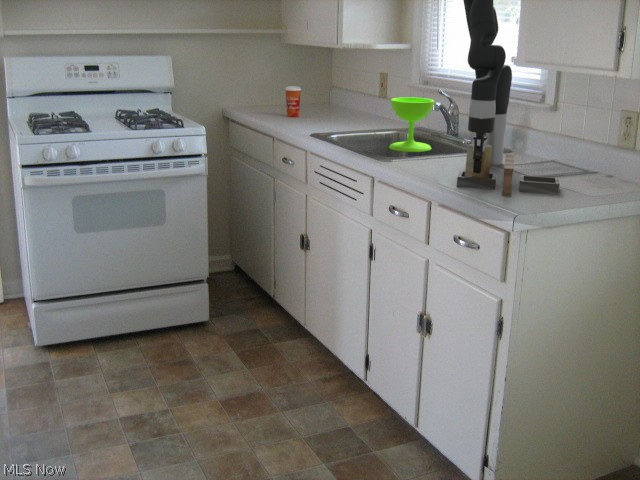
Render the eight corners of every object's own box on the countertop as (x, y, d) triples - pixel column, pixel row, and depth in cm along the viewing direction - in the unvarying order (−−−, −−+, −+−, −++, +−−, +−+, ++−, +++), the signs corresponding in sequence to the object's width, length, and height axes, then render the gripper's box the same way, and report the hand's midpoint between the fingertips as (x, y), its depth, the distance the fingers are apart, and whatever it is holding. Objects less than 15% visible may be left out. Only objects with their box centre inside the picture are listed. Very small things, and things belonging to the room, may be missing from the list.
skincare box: (463, 184, 223) (466, 144, 219) (470, 182, 226) (473, 142, 222) (482, 187, 219) (486, 147, 215) (489, 185, 222) (492, 145, 219)
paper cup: (283, 117, 353) (283, 87, 349) (287, 114, 360) (287, 85, 356) (298, 117, 352) (299, 88, 347) (303, 115, 359) (303, 86, 354)
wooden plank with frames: (461, 175, 235) (462, 150, 233) (556, 181, 228) (559, 156, 226) (454, 192, 213) (456, 165, 210) (559, 200, 206) (562, 172, 204)
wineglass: (419, 153, 270) (421, 103, 264) (381, 148, 278) (383, 100, 273) (438, 147, 282) (441, 99, 277) (401, 142, 291) (404, 96, 285)
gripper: (470, 111, 224) (466, 164, 229) (467, 117, 211) (463, 174, 216) (496, 112, 222) (491, 166, 227) (494, 119, 209) (489, 176, 214)
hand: (477, 170), depth 221 cm, fingers open, 7 cm apart
